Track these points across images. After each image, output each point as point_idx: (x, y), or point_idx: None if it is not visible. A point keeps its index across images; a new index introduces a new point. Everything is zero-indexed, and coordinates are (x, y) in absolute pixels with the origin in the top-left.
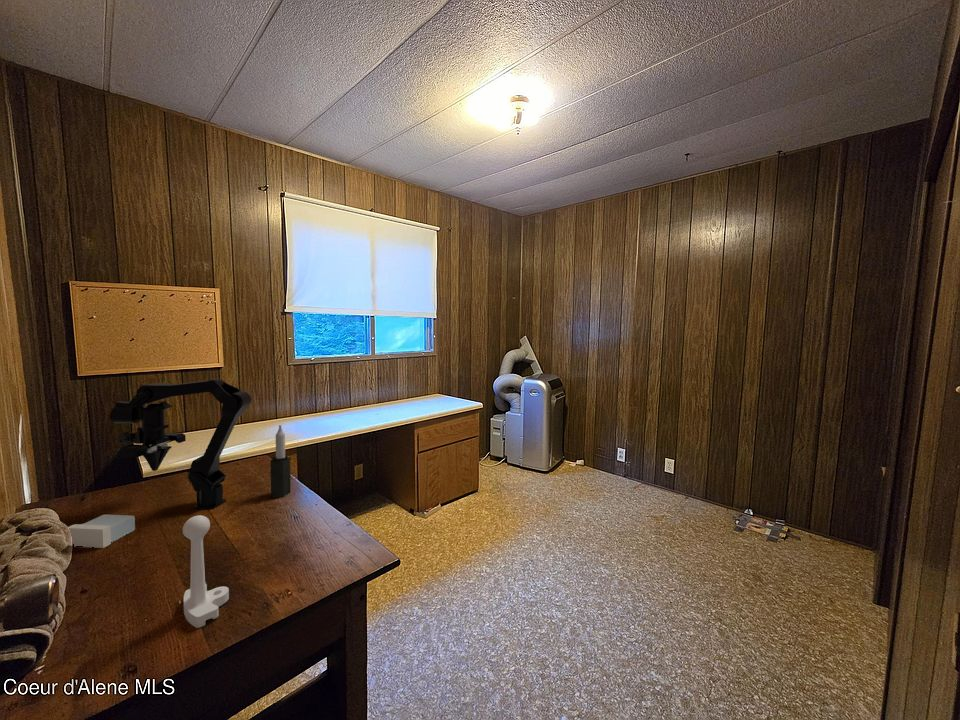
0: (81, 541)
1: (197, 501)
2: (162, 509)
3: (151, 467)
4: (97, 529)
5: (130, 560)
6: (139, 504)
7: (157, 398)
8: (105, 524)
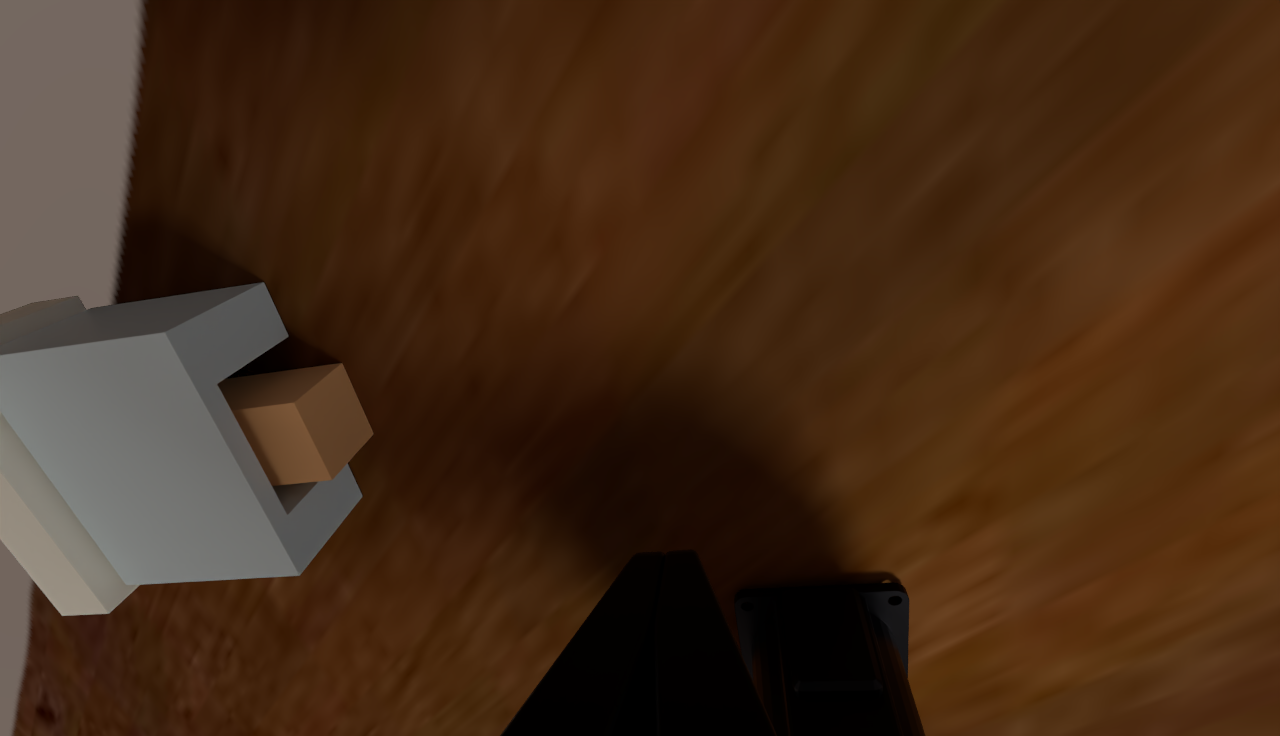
0: None
1: (783, 614)
2: (663, 391)
3: (598, 632)
4: (39, 585)
5: (213, 702)
6: (702, 40)
7: None
8: (122, 515)
